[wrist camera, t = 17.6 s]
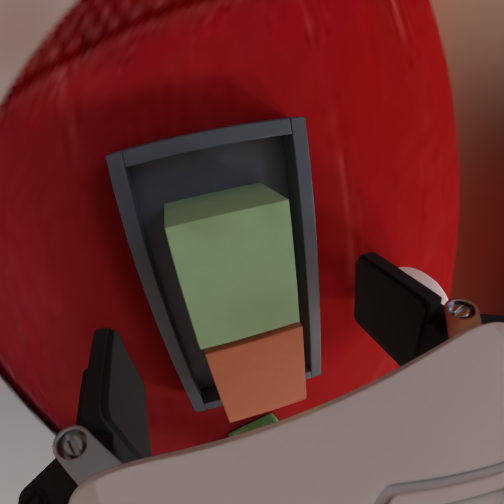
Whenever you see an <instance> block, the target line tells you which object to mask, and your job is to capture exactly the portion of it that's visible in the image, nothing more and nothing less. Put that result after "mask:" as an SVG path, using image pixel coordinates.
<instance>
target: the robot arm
mask: <svg viewBox="0 0 504 504" xmlns="http://www.w3.org/2000/svg"><path fill="white" fill-rule="evenodd" d="M441 301H442V297H441V296H439V295H438V294H436V293H435V292H433V291H432V290H431V289H429V288H428V287H426V286H425V285H423V284H422V283H420V282H419V281H417V280H416V279H414V278H413V277H411V276H410V275H408V274H407V273H405V272H404V271H402V270H401V269H399V268H398V267H396V266H395V265H393V264H392V263H390V262H389V261H387V260H385V259H384V258H382V257H381V256H379V255H378V254H376V253H374V252H370V253H367V254H364V255H361V256H360V257H359V259H358V260H357V261H356V281H355V311H354V316H355V319H356V321H357V323H358V324H359V325H360V326H361V327H362V328H363V329H364V330H365V331H366V332H367V333H368V334H369V335H370V336H371V337H372V338H373V339H374V340H375V341H376V342H377V343H378V344H379V345H380V346H381V347H382V348H383V349H384V350H385V351H386V352H387V353H388V354H389V355H390V356H391V357H392V358H393V359H394V360H395V361H396V362H397V363H398V364H399V365H400V366H401V367H399V368H397V369H395V370H393V371H391V372H390V373H388V374H386V375H384V376H382V377H380V378H378V379H376V380H374V381H372V382H370V383H368V384H366V385H364V386H362V387H359V388H357V389H355V390H353V391H351V392H349V393H347V394H344V395H342V396H340V397H338V398H335V399H333V400H331V401H329V402H326V403H324V404H321V405H319V406H317V407H314V408H312V409H309V410H307V411H304V412H302V413H299V414H297V415H294V416H291V417H289V418H286V419H283V420H280V421H278V422H275V423H272V424H269V425H266V426H263V427H260V428H257V429H254V430H251V431H248V432H245V433H241V434H238V435H235V436H231V437H228V438H224V439H221V440H217V441H214V442H210V443H206V444H202V445H198V446H195V447H191V448H187V449H182V450H178V451H174V452H169V453H165V454H160V455H156V456H152V457H151V450H150V441H149V431H148V421H147V409H146V395H145V387H144V383H143V381H142V379H141V377H140V375H139V374H138V372H137V370H136V368H135V366H134V364H133V362H132V360H131V358H130V356H129V354H128V352H127V350H126V348H125V346H124V344H123V342H122V340H121V338H120V336H119V334H118V332H117V331H116V330H113V331H112V329H111V328H110V327H108V328H104V329H100V330H96V331H95V332H94V337H93V342H92V347H91V353H90V359H89V365H88V369H86V370H85V371H84V373H83V377H82V383H81V390H80V397H79V404H78V412H77V421H76V425H72V426H69V427H66V428H64V429H63V430H61V431H60V432H59V433H58V434H57V436H56V437H55V439H54V442H53V452H54V455H55V457H56V458H55V460H53V461H52V462H51V463H50V464H49V465H48V466H47V467H46V468H45V469H44V470H43V471H42V472H41V473H40V474H39V475H38V476H37V477H36V478H35V479H34V480H33V481H32V482H31V483H29V484H28V485H27V486H26V487H25V488H24V490H23V491H22V492H21V494H20V497H19V503H18V504H504V316H500V315H487V314H480V312H479V309H478V307H477V306H476V305H475V304H474V303H473V302H471V301H470V300H467V299H464V298H453V299H450V300H448V301H447V302H446V303H445V305H443V304H441Z"/></svg>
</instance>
